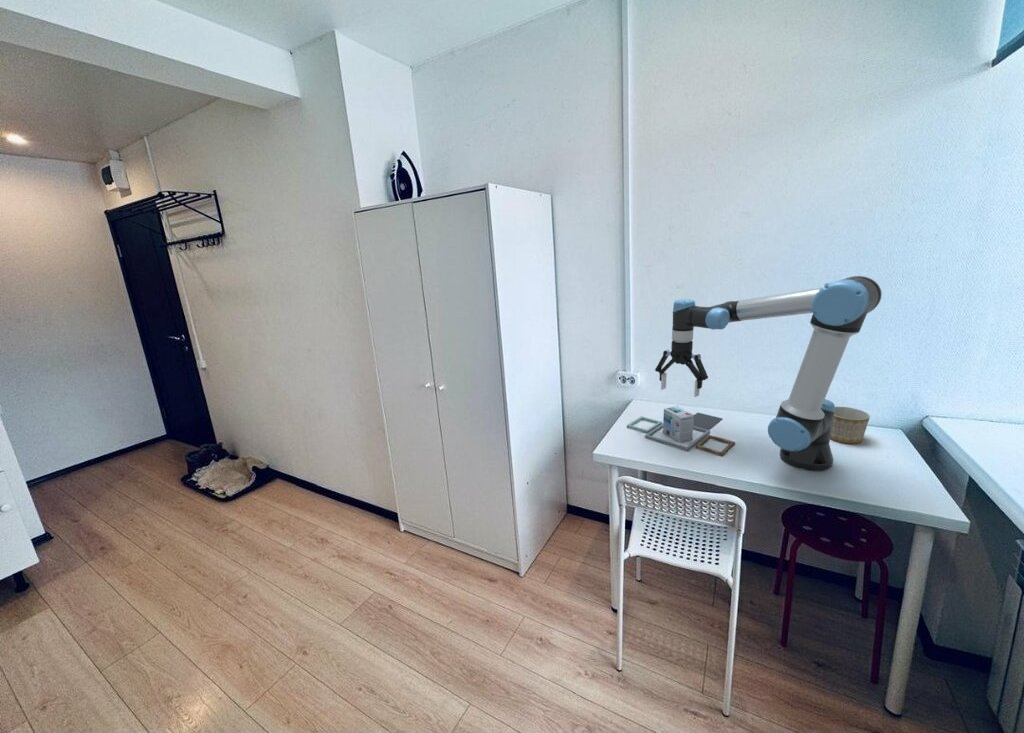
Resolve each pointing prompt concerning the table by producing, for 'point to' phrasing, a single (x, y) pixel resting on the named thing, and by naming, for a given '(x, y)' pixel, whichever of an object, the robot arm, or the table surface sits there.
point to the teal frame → (657, 423)
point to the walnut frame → (723, 452)
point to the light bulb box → (678, 424)
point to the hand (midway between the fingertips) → (679, 392)
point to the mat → (705, 421)
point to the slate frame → (649, 436)
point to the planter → (849, 425)
